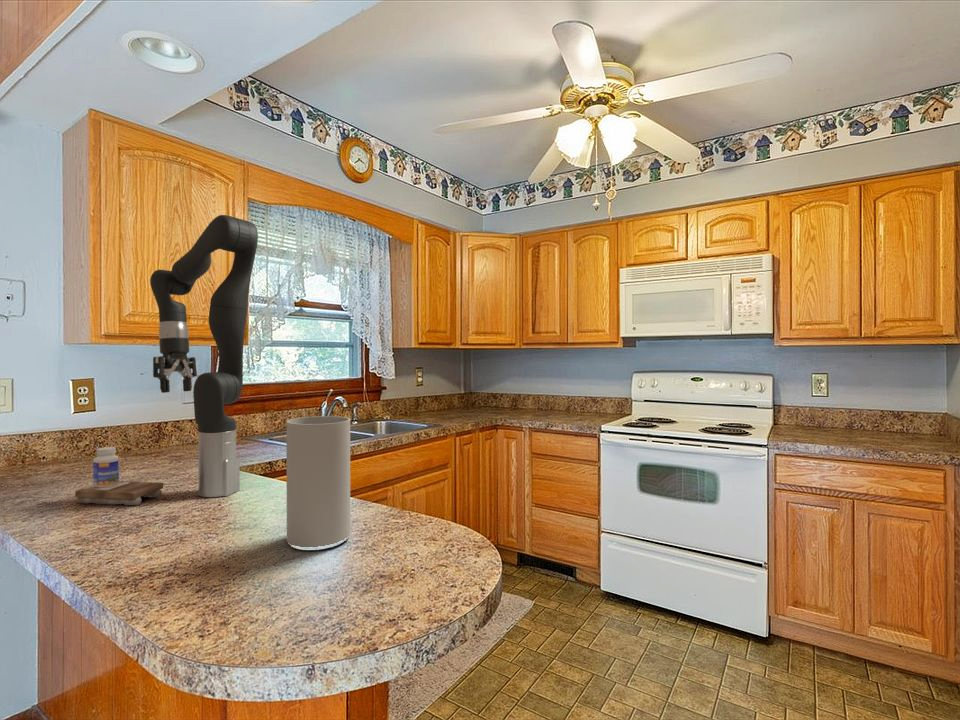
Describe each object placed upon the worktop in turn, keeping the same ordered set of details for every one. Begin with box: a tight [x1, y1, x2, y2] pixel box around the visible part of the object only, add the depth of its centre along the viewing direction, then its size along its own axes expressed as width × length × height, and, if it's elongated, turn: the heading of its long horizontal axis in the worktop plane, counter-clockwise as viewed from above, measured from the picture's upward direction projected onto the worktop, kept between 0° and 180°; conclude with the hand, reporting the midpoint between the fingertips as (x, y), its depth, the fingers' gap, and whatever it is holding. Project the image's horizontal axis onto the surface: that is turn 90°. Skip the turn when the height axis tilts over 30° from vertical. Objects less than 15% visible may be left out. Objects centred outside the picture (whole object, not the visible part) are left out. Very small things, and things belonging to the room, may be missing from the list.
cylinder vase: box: [285, 415, 351, 547], centre depth 104 cm, size 12×12×25 cm
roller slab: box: [74, 480, 164, 506], centre depth 131 cm, size 16×10×4 cm, turn 84°
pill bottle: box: [92, 446, 120, 488], centre depth 132 cm, size 5×5×10 cm
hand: (176, 391), depth 150 cm, fingers open, 8 cm apart
